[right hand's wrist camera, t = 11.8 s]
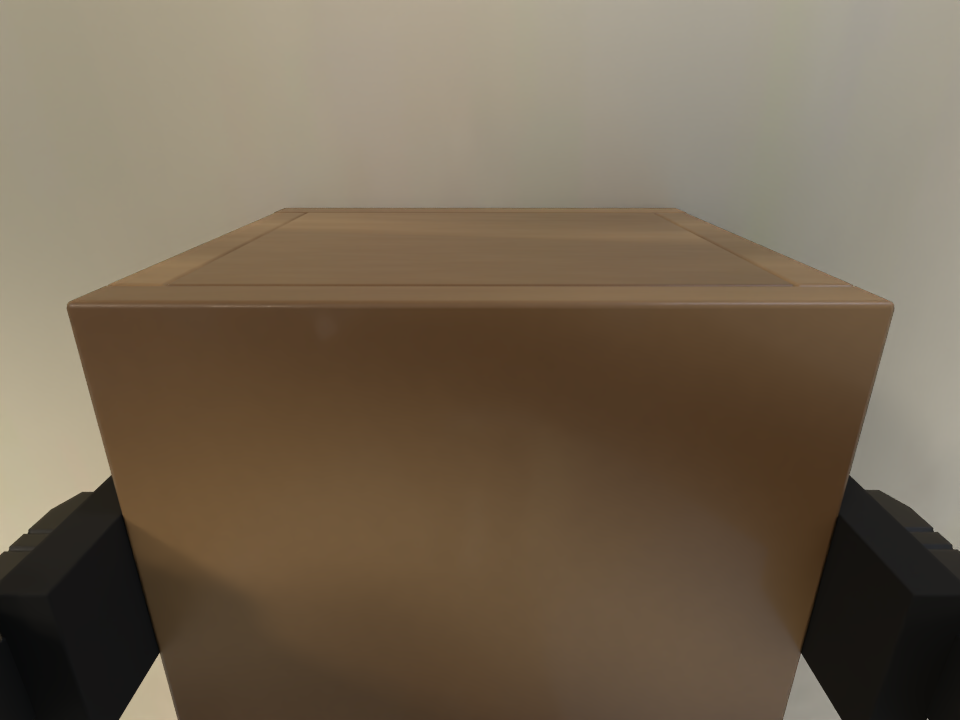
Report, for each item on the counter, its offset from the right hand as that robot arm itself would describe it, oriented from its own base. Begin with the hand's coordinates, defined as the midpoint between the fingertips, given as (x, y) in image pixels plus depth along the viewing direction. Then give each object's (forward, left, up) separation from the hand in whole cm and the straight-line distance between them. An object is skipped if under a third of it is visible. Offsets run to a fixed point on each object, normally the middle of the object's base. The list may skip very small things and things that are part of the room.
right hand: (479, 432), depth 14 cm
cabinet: (+3, -3, -4) cm, 5 cm away
